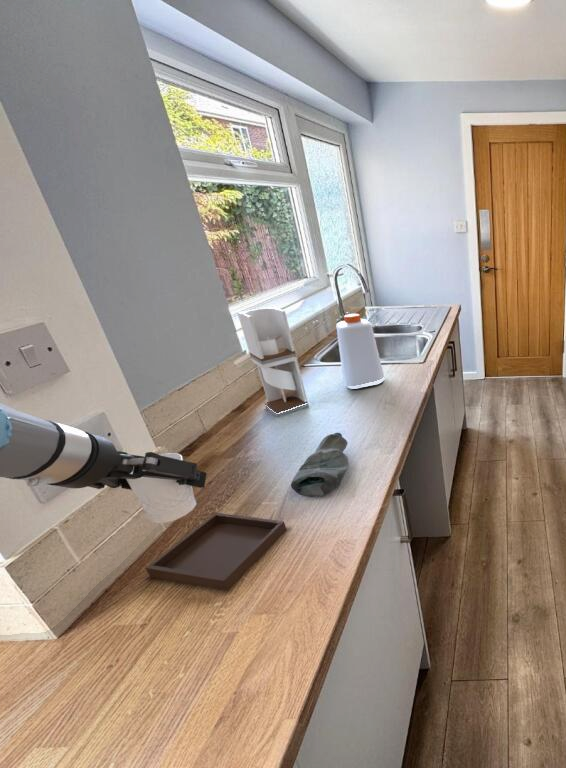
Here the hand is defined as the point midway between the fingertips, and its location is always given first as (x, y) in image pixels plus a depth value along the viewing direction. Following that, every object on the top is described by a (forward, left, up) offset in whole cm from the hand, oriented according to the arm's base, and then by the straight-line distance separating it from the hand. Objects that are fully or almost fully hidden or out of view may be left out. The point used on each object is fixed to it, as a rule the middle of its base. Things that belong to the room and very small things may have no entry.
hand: (178, 482), depth 75 cm
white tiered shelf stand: (-33, +64, -18) cm, 74 cm away
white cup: (+1, -3, -4) cm, 5 cm away
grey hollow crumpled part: (+7, +30, -18) cm, 36 cm away
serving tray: (+2, +1, -18) cm, 18 cm away
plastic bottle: (-16, +89, -18) cm, 92 cm away
